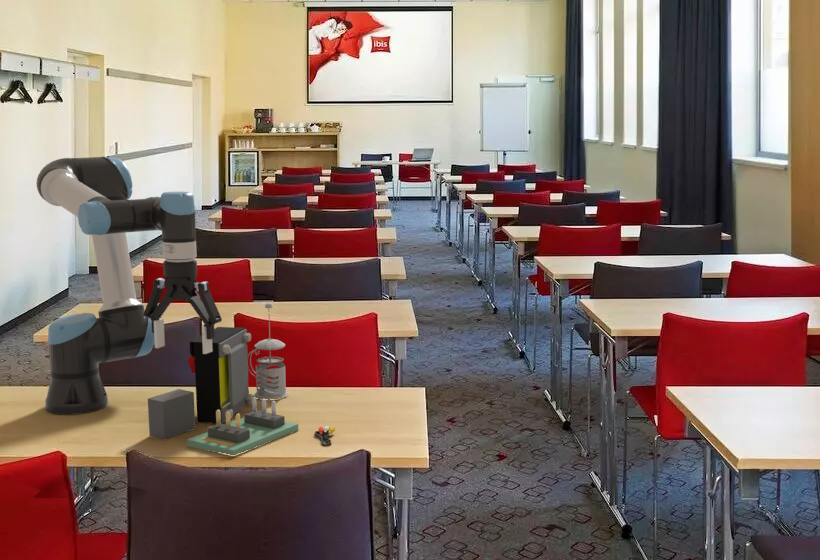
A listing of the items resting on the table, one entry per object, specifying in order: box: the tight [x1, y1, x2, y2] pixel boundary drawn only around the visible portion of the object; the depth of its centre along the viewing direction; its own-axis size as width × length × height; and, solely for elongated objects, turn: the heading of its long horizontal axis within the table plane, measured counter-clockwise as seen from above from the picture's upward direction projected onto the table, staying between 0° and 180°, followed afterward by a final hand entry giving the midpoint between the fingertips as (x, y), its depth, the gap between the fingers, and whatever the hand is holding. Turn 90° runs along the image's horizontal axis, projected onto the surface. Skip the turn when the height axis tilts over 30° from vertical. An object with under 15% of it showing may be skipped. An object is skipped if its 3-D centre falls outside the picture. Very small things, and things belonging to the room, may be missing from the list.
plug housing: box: [147, 388, 196, 441], centre depth 223 cm, size 10×5×9 cm, turn 147°
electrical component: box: [186, 326, 254, 425], centre depth 237 cm, size 18×10×20 cm, turn 168°
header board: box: [186, 397, 299, 455], centre depth 219 cm, size 14×22×8 cm, turn 147°
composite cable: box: [313, 424, 336, 447], centre depth 218 cm, size 10×5×2 cm, turn 179°
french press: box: [247, 302, 290, 400], centre depth 252 cm, size 10×12×25 cm
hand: (183, 349), depth 222 cm, fingers open, 13 cm apart
